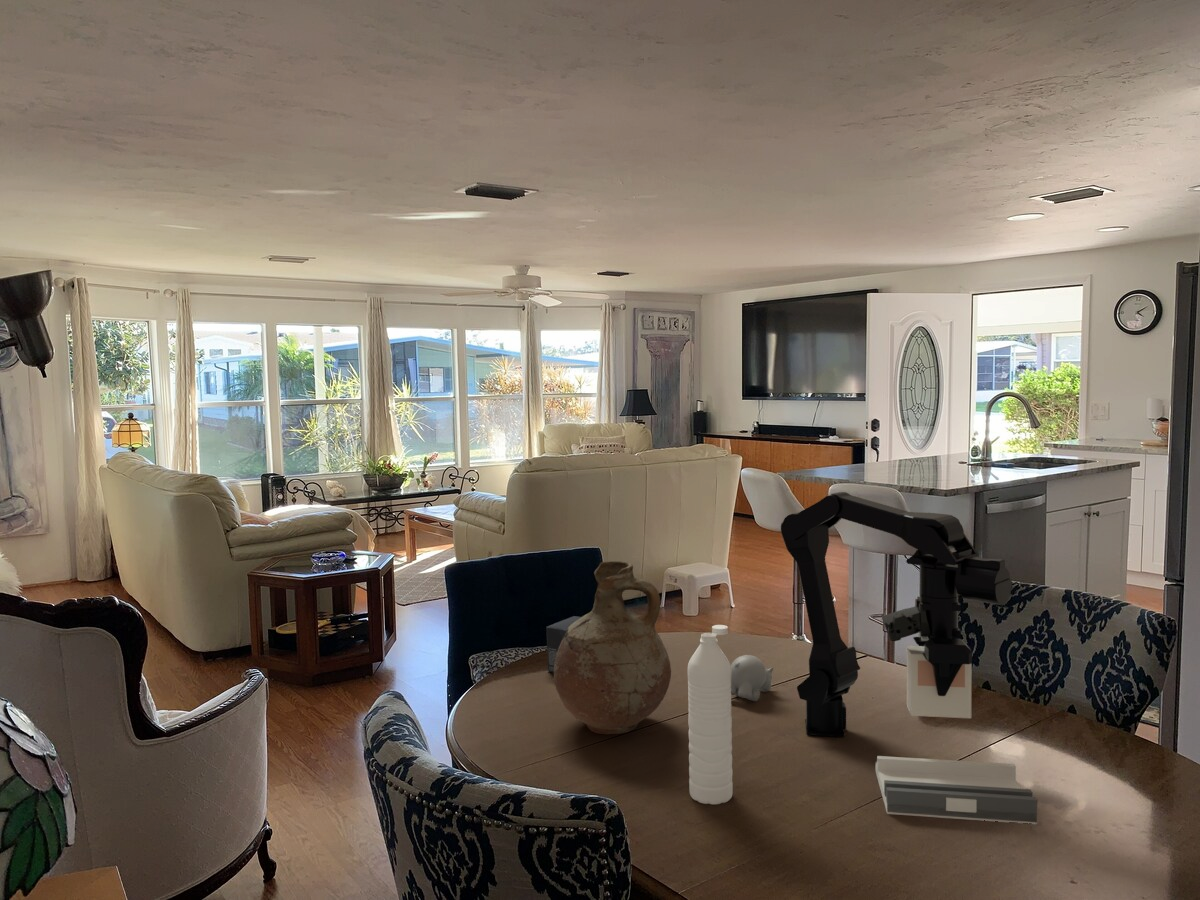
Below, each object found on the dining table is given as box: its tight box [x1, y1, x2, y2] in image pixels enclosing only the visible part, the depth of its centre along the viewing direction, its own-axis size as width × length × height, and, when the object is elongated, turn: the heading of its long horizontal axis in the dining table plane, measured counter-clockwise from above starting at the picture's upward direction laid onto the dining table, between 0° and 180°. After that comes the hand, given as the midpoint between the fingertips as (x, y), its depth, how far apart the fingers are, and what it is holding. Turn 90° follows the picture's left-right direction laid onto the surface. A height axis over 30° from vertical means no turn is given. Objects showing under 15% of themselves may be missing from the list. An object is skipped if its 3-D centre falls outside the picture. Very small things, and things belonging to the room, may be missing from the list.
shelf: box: [875, 755, 1038, 825], centre depth 129 cm, size 20×14×4 cm
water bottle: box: [687, 624, 734, 805], centre depth 131 cm, size 9×6×25 cm
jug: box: [553, 560, 672, 735], centre depth 158 cm, size 22×22×30 cm
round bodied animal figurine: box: [730, 654, 774, 702], centre depth 172 cm, size 7×12×8 cm, turn 130°
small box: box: [545, 615, 582, 674], centre depth 192 cm, size 11×6×10 cm, turn 145°
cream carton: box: [906, 645, 973, 719], centre depth 138 cm, size 5×9×10 cm, turn 79°
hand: (938, 690), depth 138 cm, fingers closed on cream carton, 5 cm apart
